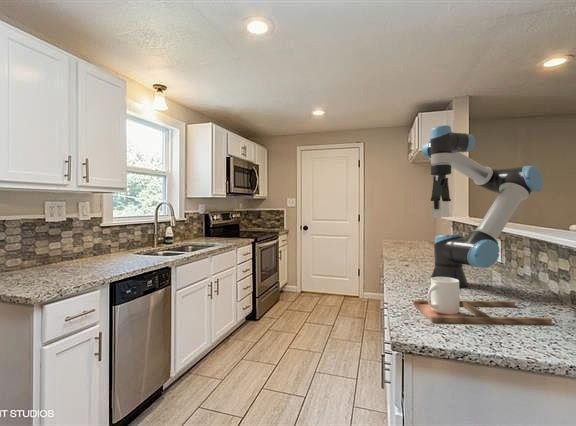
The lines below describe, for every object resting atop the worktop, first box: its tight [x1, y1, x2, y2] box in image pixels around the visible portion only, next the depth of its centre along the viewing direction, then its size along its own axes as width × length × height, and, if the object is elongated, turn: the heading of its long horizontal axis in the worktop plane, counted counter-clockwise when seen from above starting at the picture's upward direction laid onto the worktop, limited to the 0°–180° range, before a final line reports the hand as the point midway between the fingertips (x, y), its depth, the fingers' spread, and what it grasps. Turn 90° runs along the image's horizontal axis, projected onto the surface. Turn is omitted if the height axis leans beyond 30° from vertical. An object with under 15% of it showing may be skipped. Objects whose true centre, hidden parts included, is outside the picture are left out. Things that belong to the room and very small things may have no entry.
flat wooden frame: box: [412, 299, 553, 325], centre depth 105 cm, size 35×18×2 cm, turn 85°
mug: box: [427, 277, 460, 315], centre depth 106 cm, size 9×12×11 cm
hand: (441, 217), depth 127 cm, fingers open, 13 cm apart
